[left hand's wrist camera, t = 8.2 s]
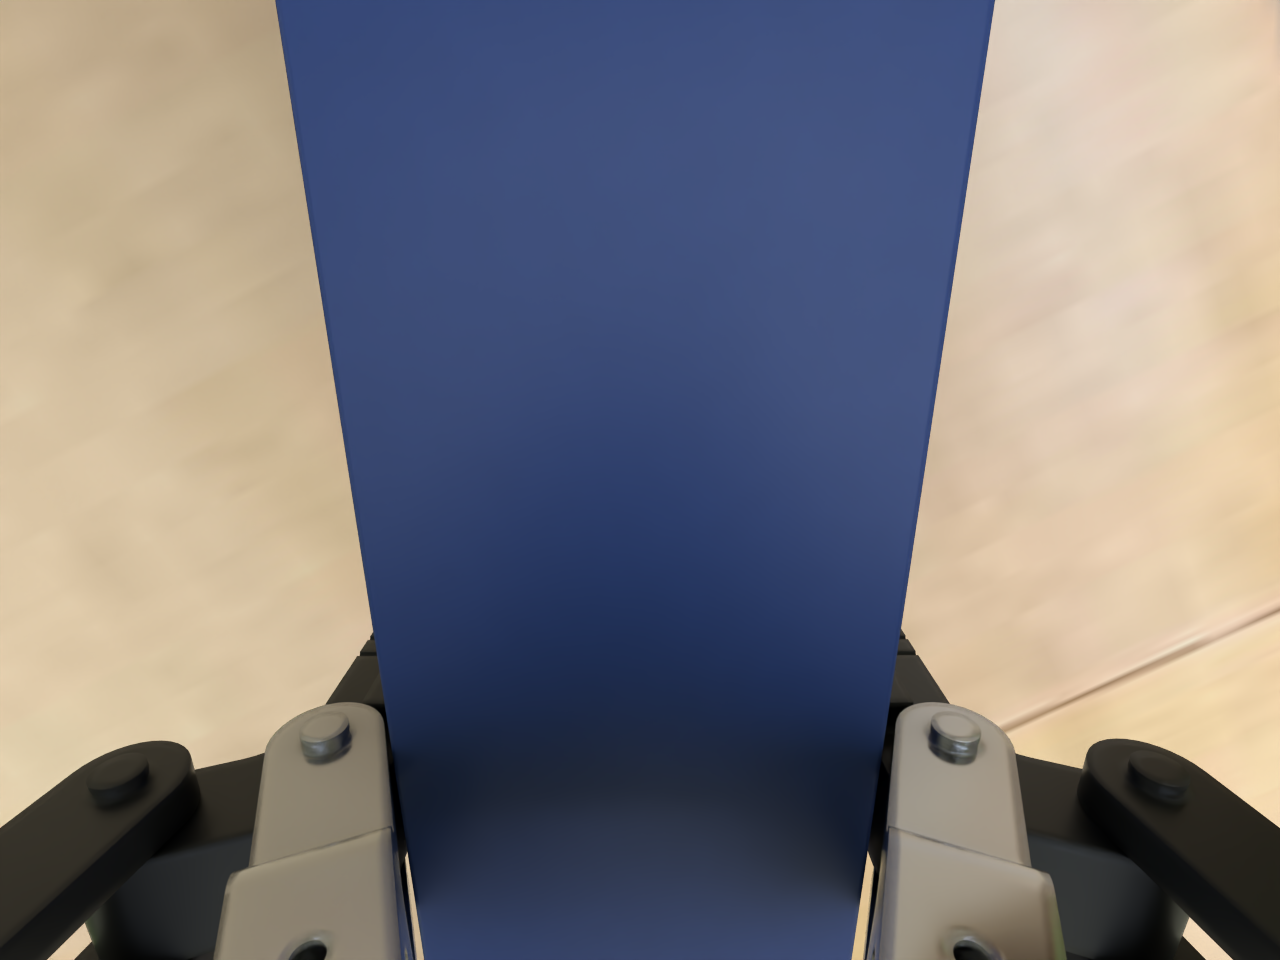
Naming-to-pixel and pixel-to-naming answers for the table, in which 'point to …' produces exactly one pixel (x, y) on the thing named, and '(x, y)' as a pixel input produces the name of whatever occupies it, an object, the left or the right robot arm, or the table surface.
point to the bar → (636, 439)
